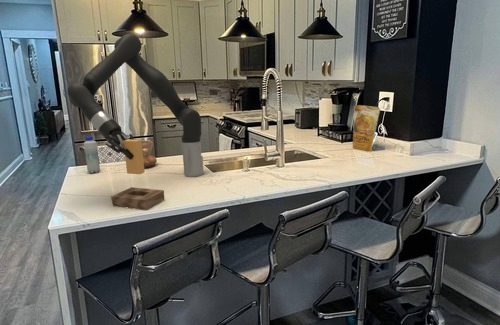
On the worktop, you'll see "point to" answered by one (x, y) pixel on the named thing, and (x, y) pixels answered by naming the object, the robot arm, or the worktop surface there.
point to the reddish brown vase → (148, 154)
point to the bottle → (91, 155)
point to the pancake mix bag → (364, 126)
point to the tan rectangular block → (137, 161)
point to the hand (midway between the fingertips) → (135, 156)
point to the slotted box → (138, 198)
